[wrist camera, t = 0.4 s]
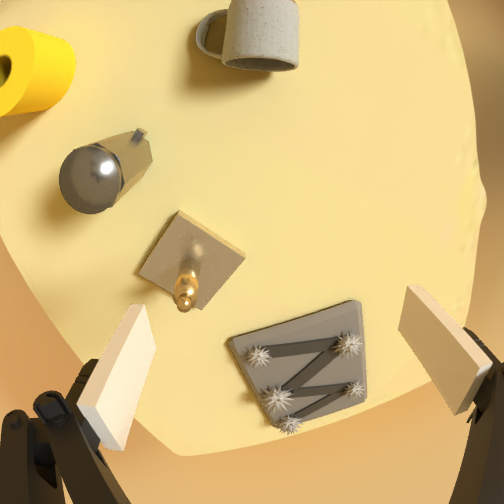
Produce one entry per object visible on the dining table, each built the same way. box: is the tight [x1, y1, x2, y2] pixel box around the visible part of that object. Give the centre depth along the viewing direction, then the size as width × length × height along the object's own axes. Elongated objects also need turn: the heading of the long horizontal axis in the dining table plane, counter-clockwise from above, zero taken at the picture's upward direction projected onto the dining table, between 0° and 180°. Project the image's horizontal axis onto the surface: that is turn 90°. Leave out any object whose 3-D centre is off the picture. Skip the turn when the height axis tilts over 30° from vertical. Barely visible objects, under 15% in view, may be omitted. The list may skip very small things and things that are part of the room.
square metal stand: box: [139, 210, 245, 312], centre depth 35 cm, size 10×10×10 cm
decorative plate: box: [228, 300, 367, 435], centre depth 49 cm, size 30×22×7 cm
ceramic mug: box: [195, 0, 299, 72], centre depth 24 cm, size 11×8×8 cm
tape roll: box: [0, 26, 76, 117], centre depth 21 cm, size 10×10×9 cm
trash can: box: [59, 128, 152, 214], centre depth 27 cm, size 8×6×12 cm
